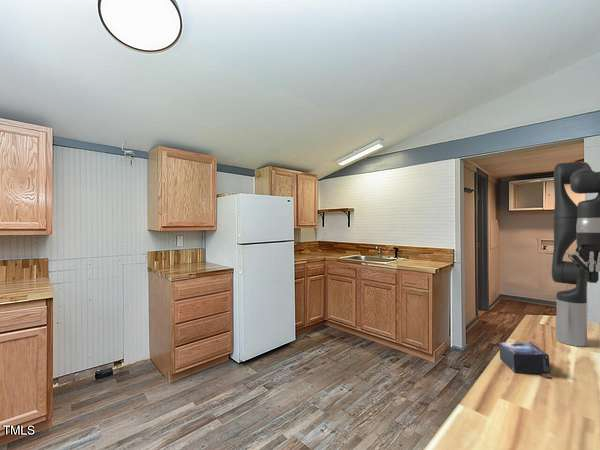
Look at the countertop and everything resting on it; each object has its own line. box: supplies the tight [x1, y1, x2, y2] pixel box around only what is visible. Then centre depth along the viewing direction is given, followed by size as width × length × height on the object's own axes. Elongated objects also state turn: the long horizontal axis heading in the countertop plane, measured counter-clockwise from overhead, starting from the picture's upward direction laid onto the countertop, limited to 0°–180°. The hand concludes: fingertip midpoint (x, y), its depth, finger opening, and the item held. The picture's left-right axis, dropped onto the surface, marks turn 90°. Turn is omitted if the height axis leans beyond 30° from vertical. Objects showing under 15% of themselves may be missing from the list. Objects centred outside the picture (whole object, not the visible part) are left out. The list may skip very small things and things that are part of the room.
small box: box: [498, 341, 551, 374], centre depth 99 cm, size 11×6×10 cm
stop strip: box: [539, 373, 552, 380], centre depth 99 cm, size 14×2×1 cm, turn 167°
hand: (591, 282), depth 98 cm, fingers closed
